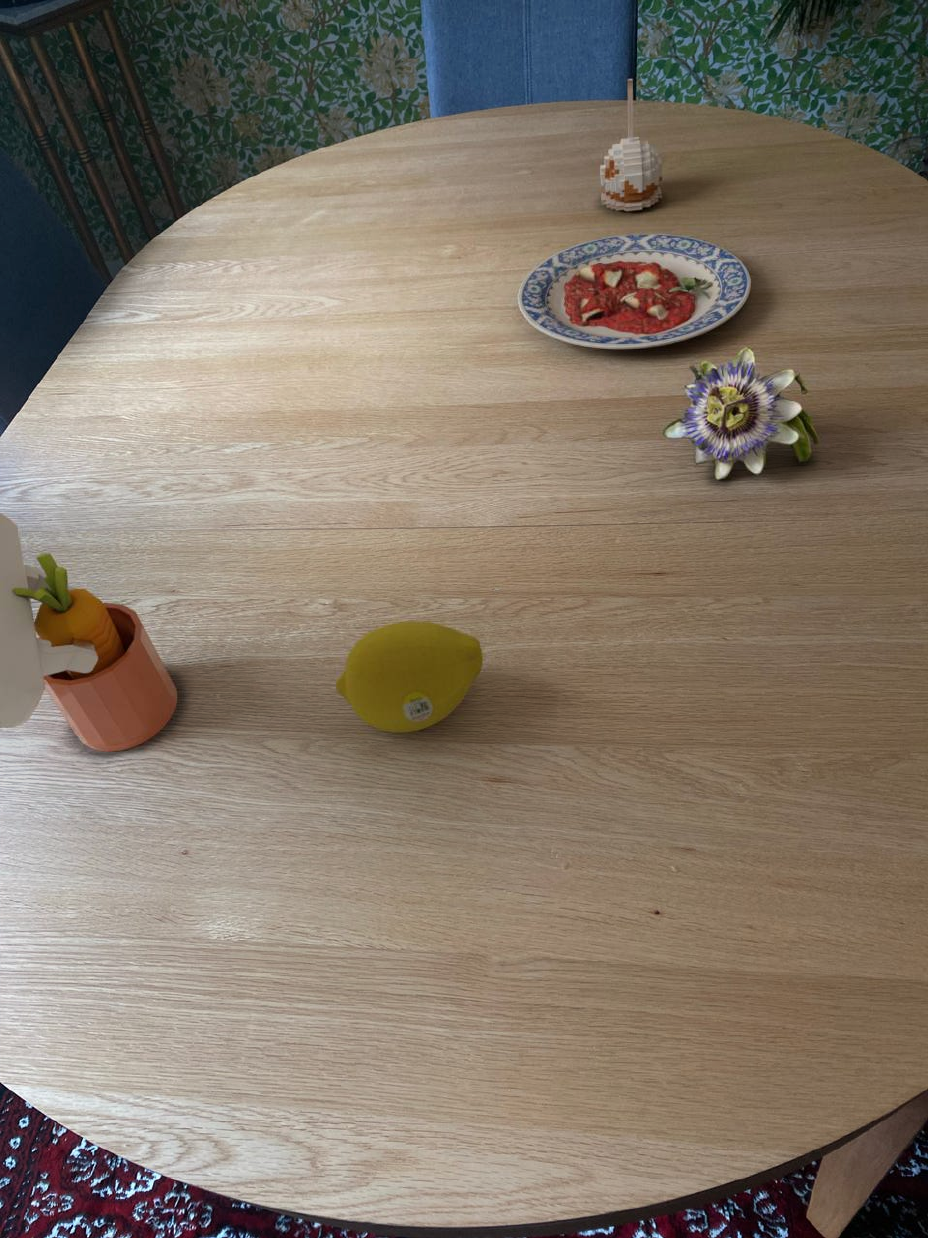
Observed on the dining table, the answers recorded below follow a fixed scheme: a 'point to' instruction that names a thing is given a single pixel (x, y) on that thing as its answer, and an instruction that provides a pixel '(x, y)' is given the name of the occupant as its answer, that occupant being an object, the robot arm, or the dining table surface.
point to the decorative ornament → (631, 170)
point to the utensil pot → (118, 692)
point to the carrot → (73, 617)
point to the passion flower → (742, 415)
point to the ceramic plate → (634, 291)
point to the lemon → (409, 674)
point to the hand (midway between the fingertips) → (87, 630)
